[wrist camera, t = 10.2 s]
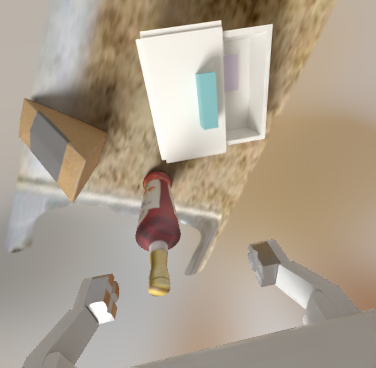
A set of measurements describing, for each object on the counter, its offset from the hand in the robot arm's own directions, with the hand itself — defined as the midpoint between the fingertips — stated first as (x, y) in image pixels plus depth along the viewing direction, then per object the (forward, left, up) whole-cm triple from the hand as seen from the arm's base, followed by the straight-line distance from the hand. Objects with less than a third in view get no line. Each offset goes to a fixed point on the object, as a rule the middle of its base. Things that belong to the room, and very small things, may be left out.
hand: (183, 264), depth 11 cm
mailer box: (-5, +14, -35) cm, 38 cm away
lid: (-5, +5, -30) cm, 30 cm away
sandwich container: (-2, -20, -36) cm, 41 cm away
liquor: (+13, -4, -35) cm, 38 cm away
